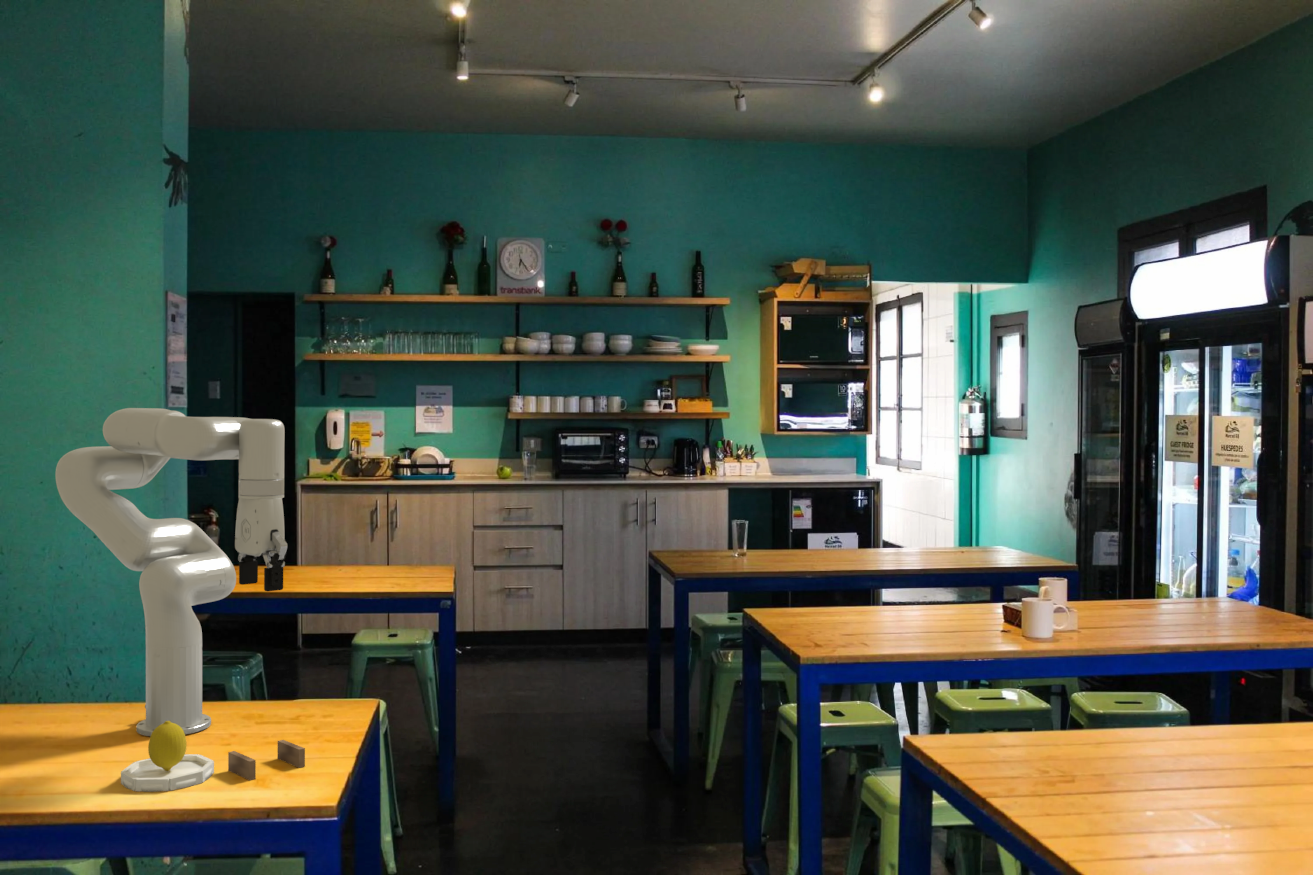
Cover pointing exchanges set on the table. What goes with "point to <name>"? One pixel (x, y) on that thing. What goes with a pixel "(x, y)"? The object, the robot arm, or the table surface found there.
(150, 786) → the saucer
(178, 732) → the lemon
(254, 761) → the rack
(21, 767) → the table surface
